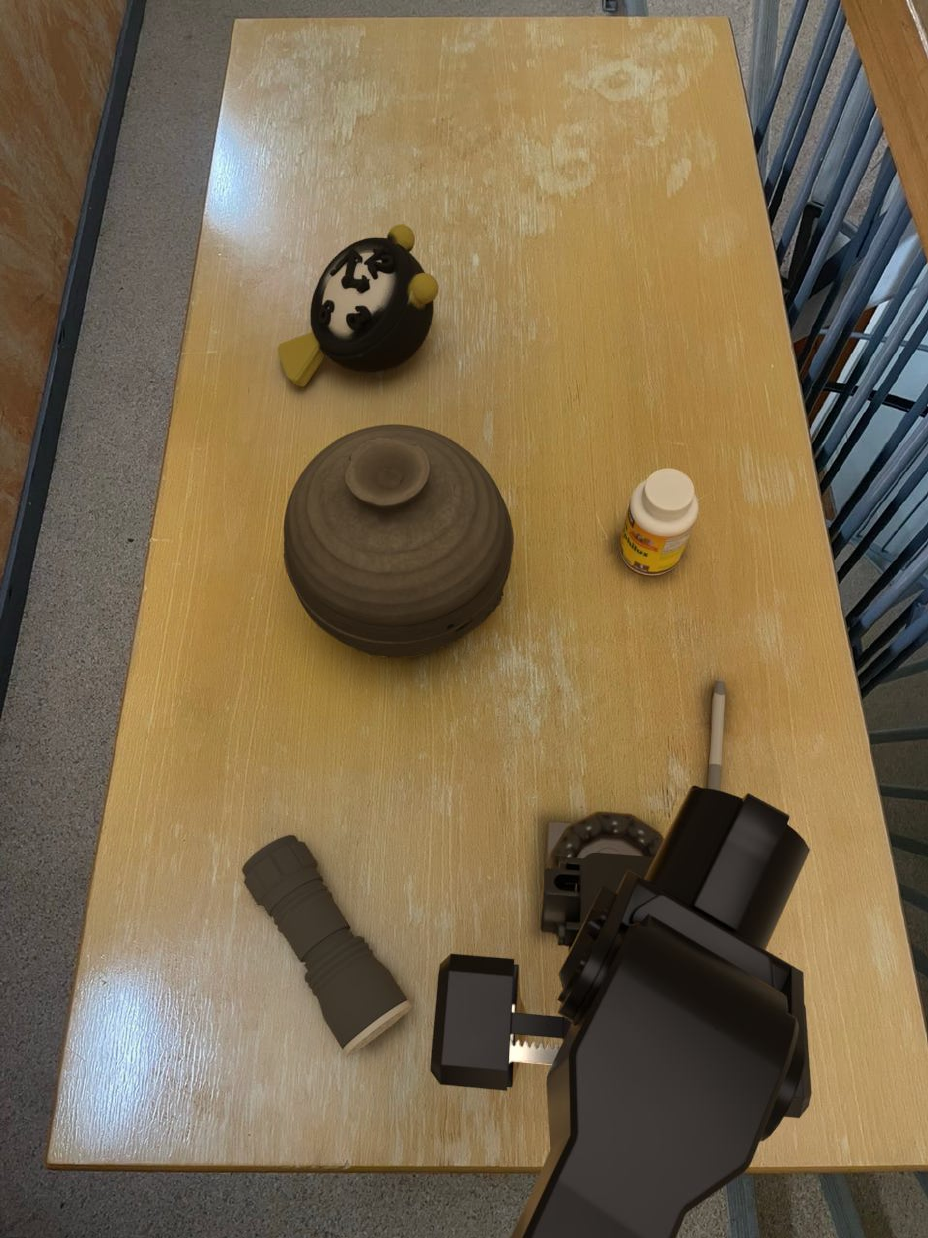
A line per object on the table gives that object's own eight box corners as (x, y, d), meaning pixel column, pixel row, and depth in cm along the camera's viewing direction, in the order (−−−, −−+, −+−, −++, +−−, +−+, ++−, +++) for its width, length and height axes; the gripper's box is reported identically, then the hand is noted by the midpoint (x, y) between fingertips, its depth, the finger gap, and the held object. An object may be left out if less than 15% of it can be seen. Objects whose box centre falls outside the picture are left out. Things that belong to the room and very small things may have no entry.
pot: (294, 512, 84) (266, 370, 66) (489, 504, 85) (513, 363, 67) (297, 699, 77) (266, 597, 58) (509, 686, 78) (543, 582, 60)
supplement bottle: (607, 537, 83) (622, 472, 73) (662, 515, 84) (683, 449, 74) (635, 587, 80) (654, 528, 71) (692, 565, 81) (718, 503, 72)
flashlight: (243, 878, 71) (225, 865, 66) (303, 836, 72) (289, 820, 67) (352, 1056, 65) (341, 1056, 60) (414, 1007, 67) (408, 1004, 62)
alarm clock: (320, 336, 98) (333, 191, 88) (443, 383, 96) (471, 239, 86) (261, 377, 90) (267, 222, 80) (394, 430, 87) (418, 276, 77)
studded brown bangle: (677, 951, 67) (681, 949, 65) (545, 940, 67) (546, 937, 66) (675, 820, 71) (679, 814, 69) (550, 810, 71) (552, 805, 70)
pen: (724, 682, 77) (728, 675, 75) (714, 849, 71) (718, 845, 70) (711, 680, 77) (715, 674, 75) (701, 847, 71) (705, 843, 70)
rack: (650, 939, 68) (668, 927, 61) (542, 930, 69) (548, 917, 62) (650, 831, 72) (667, 809, 65) (547, 823, 72) (553, 800, 65)
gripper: (836, 862, 43) (751, 907, 58) (443, 832, 44) (454, 883, 59) (859, 1130, 39) (760, 1107, 53) (420, 1089, 40) (438, 1077, 54)
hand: (598, 1034), depth 55 cm, fingers open, 9 cm apart
